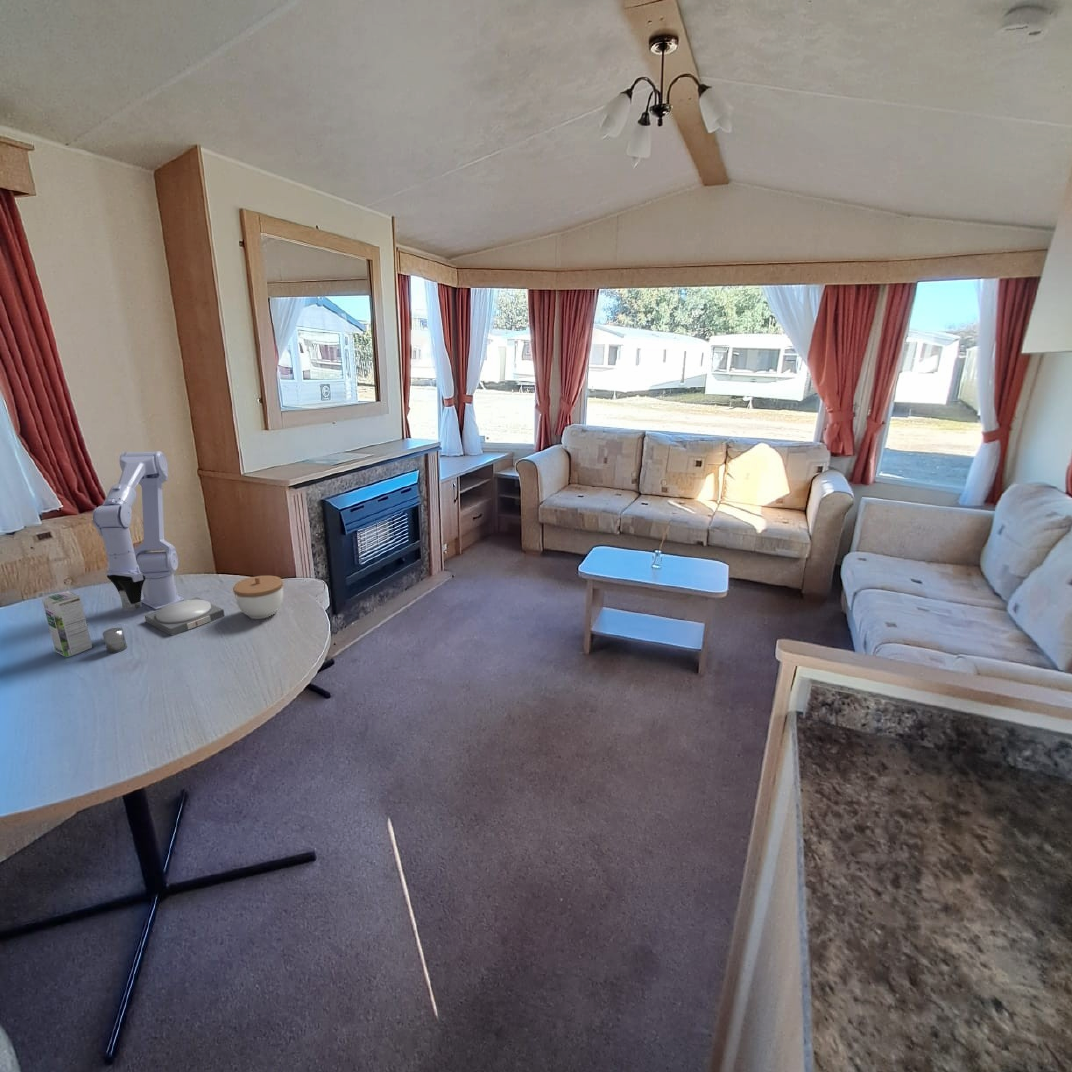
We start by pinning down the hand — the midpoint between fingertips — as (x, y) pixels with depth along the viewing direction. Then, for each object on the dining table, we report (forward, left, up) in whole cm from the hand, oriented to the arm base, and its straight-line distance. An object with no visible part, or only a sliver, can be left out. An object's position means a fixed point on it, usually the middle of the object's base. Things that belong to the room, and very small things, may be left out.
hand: (131, 600), depth 147 cm
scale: (+3, +10, -9) cm, 14 cm away
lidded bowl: (+17, +24, -9) cm, 31 cm away
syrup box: (-2, -14, -9) cm, 16 cm away
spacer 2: (0, 0, -2) cm, 2 cm away
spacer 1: (+6, -8, -9) cm, 13 cm away
